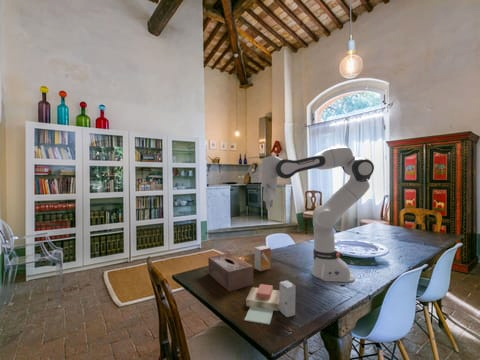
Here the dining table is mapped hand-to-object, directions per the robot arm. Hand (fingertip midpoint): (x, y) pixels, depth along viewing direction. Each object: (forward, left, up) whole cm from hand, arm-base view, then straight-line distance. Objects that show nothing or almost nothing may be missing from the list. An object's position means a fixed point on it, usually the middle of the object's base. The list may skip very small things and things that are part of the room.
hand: (269, 208), depth 135 cm
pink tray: (-2, +28, -36) cm, 45 cm away
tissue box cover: (+21, +10, -39) cm, 46 cm away
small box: (+6, -9, -39) cm, 40 cm away
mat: (-2, +40, -39) cm, 56 cm away
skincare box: (-13, +35, -39) cm, 54 cm away
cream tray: (-2, +29, -39) cm, 49 cm away
